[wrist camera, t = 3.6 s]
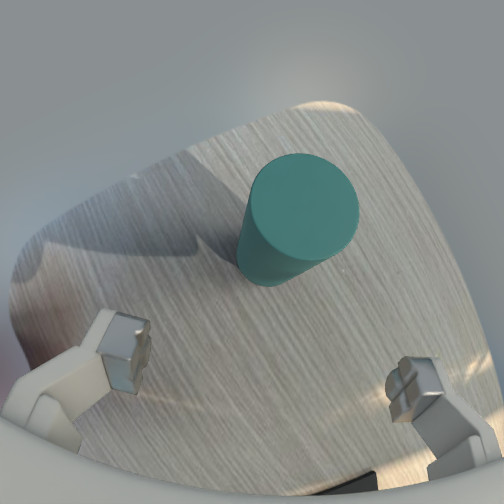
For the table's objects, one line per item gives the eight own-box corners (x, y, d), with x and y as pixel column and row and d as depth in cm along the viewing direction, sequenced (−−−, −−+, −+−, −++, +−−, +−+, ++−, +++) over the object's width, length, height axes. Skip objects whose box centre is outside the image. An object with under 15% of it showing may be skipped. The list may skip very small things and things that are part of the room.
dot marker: (242, 295, 19) (267, 273, 9) (228, 238, 19) (237, 162, 10) (299, 280, 19) (374, 245, 9) (284, 226, 20) (339, 147, 10)
